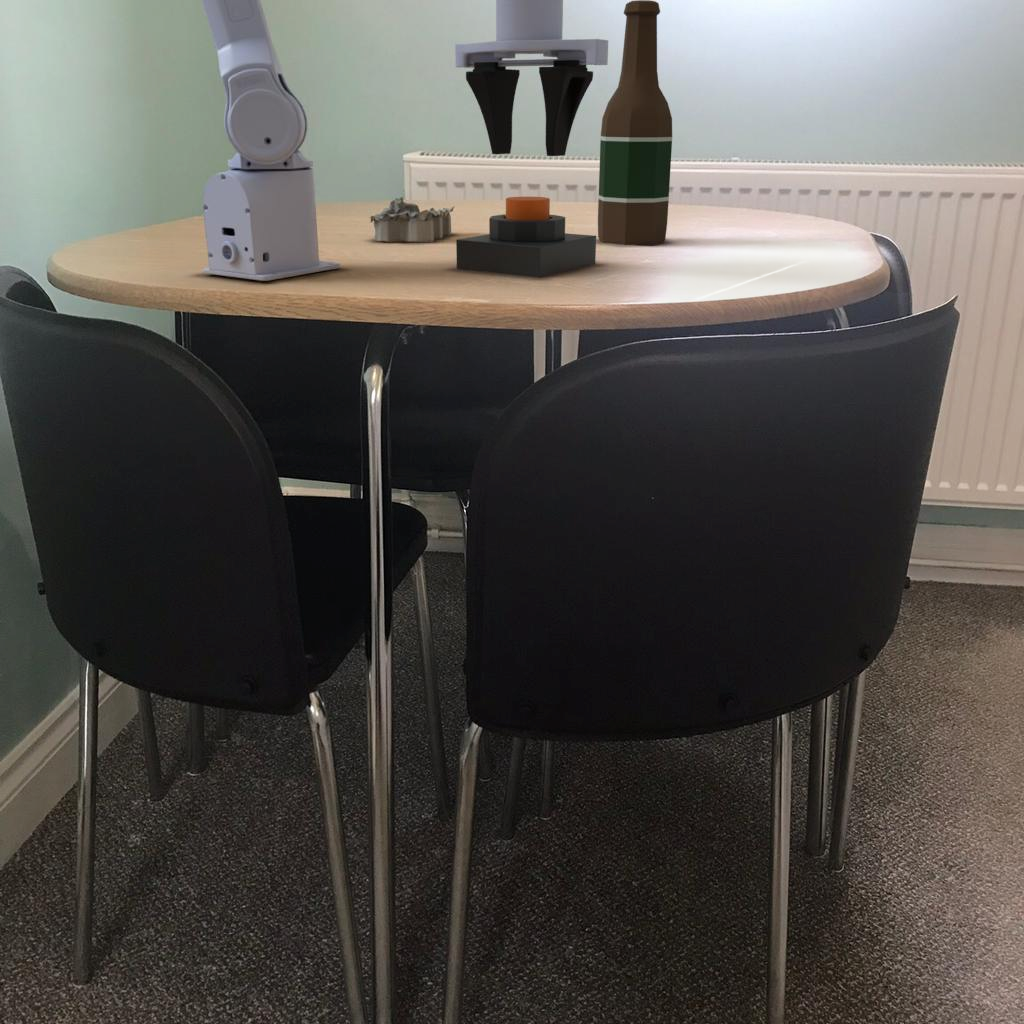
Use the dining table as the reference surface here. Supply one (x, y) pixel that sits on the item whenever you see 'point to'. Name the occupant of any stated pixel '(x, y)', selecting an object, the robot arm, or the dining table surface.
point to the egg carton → (411, 223)
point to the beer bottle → (636, 141)
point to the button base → (526, 248)
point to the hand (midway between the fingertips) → (528, 155)
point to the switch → (527, 208)
